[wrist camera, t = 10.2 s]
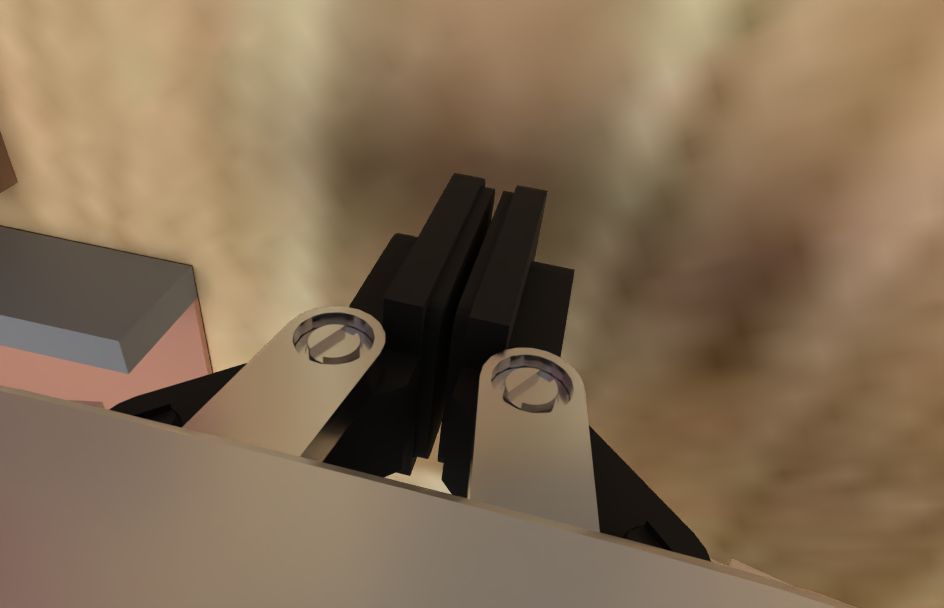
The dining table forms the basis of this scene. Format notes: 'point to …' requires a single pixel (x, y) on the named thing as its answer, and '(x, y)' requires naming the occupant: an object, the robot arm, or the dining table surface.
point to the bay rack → (95, 320)
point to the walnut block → (5, 168)
